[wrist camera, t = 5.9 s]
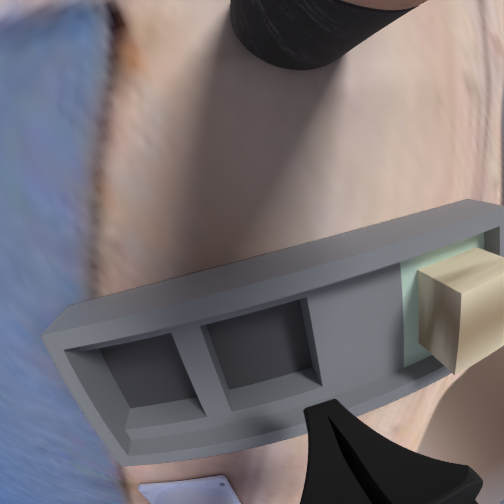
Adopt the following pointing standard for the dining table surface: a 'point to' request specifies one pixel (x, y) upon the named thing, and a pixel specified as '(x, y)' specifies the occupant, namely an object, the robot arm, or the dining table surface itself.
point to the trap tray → (262, 339)
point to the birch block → (462, 308)
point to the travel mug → (310, 27)
